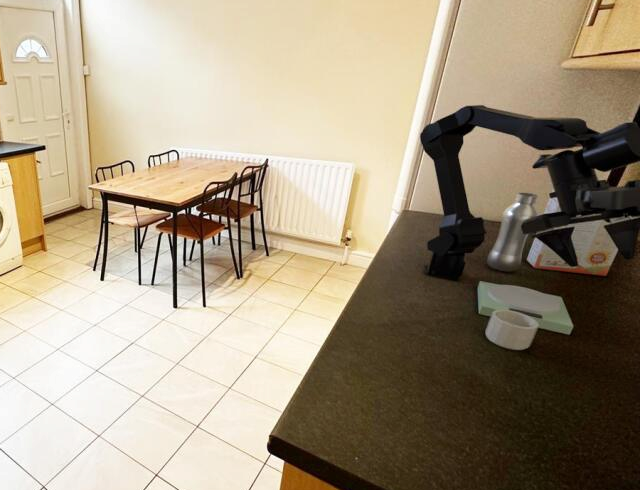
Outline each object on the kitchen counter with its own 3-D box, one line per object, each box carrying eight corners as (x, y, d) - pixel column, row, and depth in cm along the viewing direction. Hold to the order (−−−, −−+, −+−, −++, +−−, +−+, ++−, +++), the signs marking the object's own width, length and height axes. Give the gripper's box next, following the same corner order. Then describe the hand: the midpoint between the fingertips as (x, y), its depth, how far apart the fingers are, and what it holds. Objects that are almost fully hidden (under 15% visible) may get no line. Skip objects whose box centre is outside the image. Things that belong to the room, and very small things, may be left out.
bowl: (484, 343, 79) (493, 321, 77) (483, 327, 84) (491, 306, 82) (531, 355, 76) (541, 332, 74) (527, 337, 80) (536, 316, 78)
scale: (478, 314, 89) (482, 302, 88) (477, 288, 99) (481, 277, 98) (569, 335, 81) (575, 322, 80) (558, 304, 91) (562, 293, 90)
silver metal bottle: (489, 272, 106) (517, 197, 98) (480, 262, 112) (505, 190, 104) (521, 276, 104) (552, 199, 96) (510, 265, 109) (538, 191, 101)
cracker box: (593, 267, 107) (631, 188, 98) (606, 277, 102) (646, 195, 93) (524, 259, 112) (553, 184, 104) (533, 268, 107) (564, 190, 99)
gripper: (560, 174, 70) (590, 263, 67) (681, 156, 69) (716, 247, 66) (508, 194, 81) (532, 272, 78) (611, 179, 79) (639, 258, 77)
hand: (602, 262), depth 75 cm, fingers open, 9 cm apart
